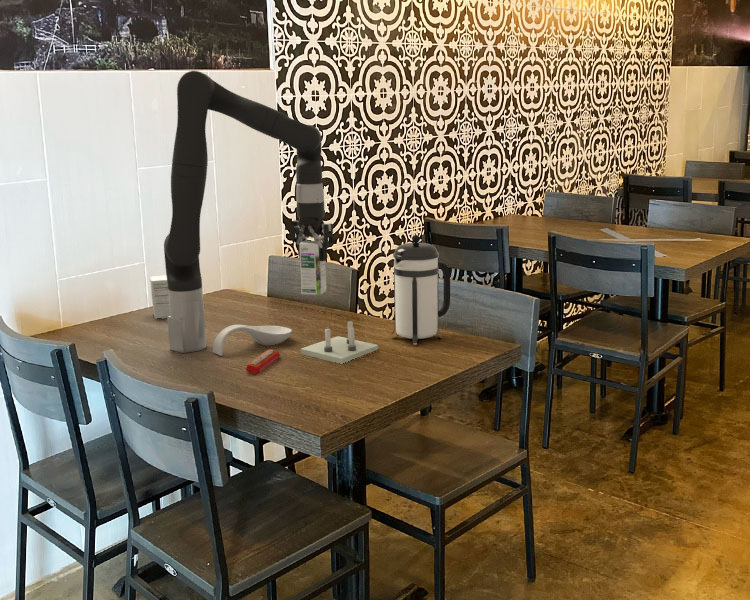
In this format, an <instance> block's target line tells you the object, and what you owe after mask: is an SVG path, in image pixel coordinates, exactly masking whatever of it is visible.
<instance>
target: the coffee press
mask: <svg viewBox="0 0 750 600" xmlns="http://www.w3.org/2000/svg"><path fill="white" fill-rule="evenodd" d="M411 240H412V242H407V243H403V244H400V245H398V246H397V247H396V248H395V251H394V252H393V253H392V257H393V260H394V261H393V286H394V287H393V290H394V291H393V293H394V295H393V298H394V299H393V300H394V301H393V302H394V306H393V307H394V330H393V331H392V333H391V335H393V334H394V333H395V332H396V333H397V335H396V336H397V337H399V336H400V337H402V338H406V339H412V344H413V343H417V341H418V342H419V339H420V340H422V339H428V338H431V337H435V336H436V334H437V332H438V333H439V334H440V335H441V337H442V336H443V337H444V335H443V333H442V332H441V330H440V327H439V325H440V319H439V318H441V317H443V316H444V315H446V313H447V312H448V310H449V308H450V304H451V274H450V269H449V267H448V266H447V264H445V263H443V262H439V261H438V260H439V257H440V253H439V252H438V250H437V248H436V246H435V245H433V244H430V243H426V242H420V240H421V237H420V235H417V234H414V235H412V238H411ZM439 270H440V271H441V272H442V274H443V275H442V277H443V303H442V307H441V308H439V302H440V301H439V298H440V296H439V284H440V283H439V280H440V279H439ZM439 309H440V310H439ZM391 335H390V336H391Z"/></svg>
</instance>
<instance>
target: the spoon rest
mask: <svg viewBox="0 0 750 600" xmlns="http://www.w3.org/2000/svg"><path fill="white" fill-rule="evenodd" d="M236 331H242V332H244V333H246V334H247V335H249V336H250V337H251V338H252V339H254V341H256V342H257V343H258V344H259V345H261V344H262V346H274V345H275V344H276V345H279V344H281V343H283V342H285V341H286V340H287V339H289V337H290V336H291V334H292V332H293V330H292V329H291V328H289V327H286V326H279V325H255V326H254V325H245V324H231V325H229V326H226V327H224V328H223V329H222V330H221V331H220V332H219V333H218V334H217V336H216V338H215V339H214V342H213V345H212V352H213V353H214V354H216V355H218V356H221V357H222V356H223V355H224V343H225V340H226V339H227V338H228V336H229V335H231V334H232V333H235V332H236ZM276 345H275V346H276Z"/></svg>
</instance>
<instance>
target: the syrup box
mask: <svg viewBox="0 0 750 600" xmlns="http://www.w3.org/2000/svg"><path fill="white" fill-rule="evenodd" d="M322 243H323V242H322ZM319 248H320V247H319V245H318V243H317V241H315V240H306V241H303V242H301V243H300V244H299V249H300V258H299V260H300V261H299V263H300V265H299V266H300V267H299V268H300V292H301V295H311V296H312V295H314V296H321V295H323V294H324V293H325V292H327V270H326V267H327V266H326V265H327V264H326V262H327V261H323V262H322V261H320V260H319Z"/></svg>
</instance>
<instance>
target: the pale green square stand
mask: <svg viewBox="0 0 750 600" xmlns="http://www.w3.org/2000/svg"><path fill="white" fill-rule="evenodd" d="M353 324H354V323H353V321H352V320H351V321H350V320H349V321H347V337H343V336H339V335H338V336H337V335H336V336H334V337H331V328H325V329H324V337H325V339H324V340H322V341H320V342H319V341H318V342H316V343H313V344H310V345H308V346H305V347H302V348H301V347H300V355H304V356H307V357H312V358H315V359H320V360H323V361H327V362H331V363H335V362H336V364H339V363H340V365H343V363H344V364H346V363H349V362H351V361H350V360H352V359H354V360H356V359H355V358H357V357H359V356H362V355H364V354H367V353H369V352H372V351H374V350H377V349H379V348H380V347H379V344H375V343H370V342H365V341H362V340H357V339H355V327H354V326H353ZM362 357H363V356H362ZM357 359H358V358H357ZM348 361H349V362H348ZM352 361H353V360H352ZM345 362H346V363H345Z"/></svg>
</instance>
